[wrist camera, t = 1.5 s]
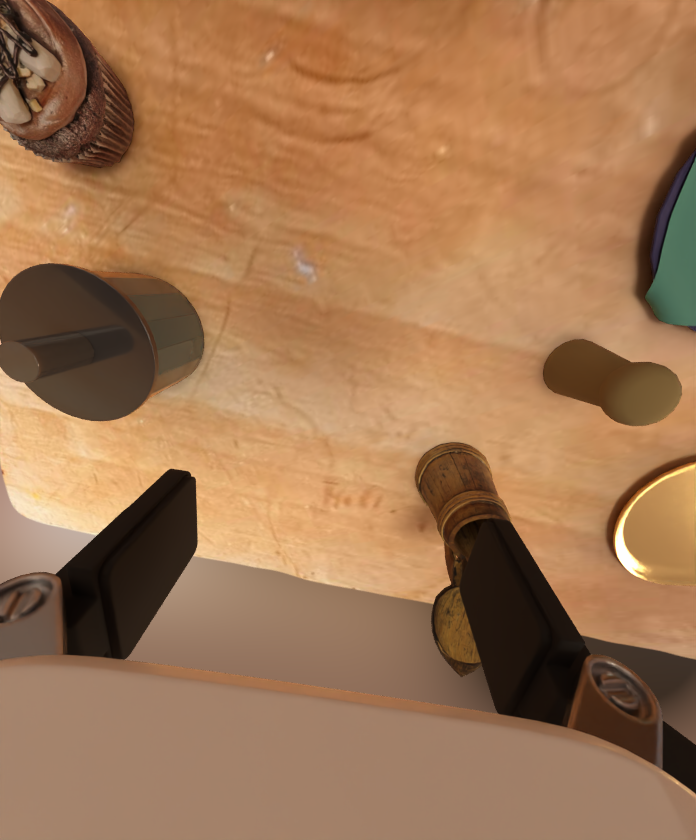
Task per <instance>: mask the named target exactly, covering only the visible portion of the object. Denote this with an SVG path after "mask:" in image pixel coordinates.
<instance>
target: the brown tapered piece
mask: <svg viewBox="0 0 696 840" xmlns="http://www.w3.org/2000/svg"><path fill="white" fill-rule="evenodd" d="M543 376H544V382H545V383H546V385H547V387H548V388H549V389H550V390H552V391H553V392H555V393H558V394H561V395H564V396H567V397H571V398H574V399H577V400H580V401H584V402H587V403H590V404H593V405H596V406H600V407H601V408H602V410H603V411H604V412H605V414H606V415H608V416H609V417H610V418H611V419H613V420H614V421H616V422H618V423H622V424H625V425H629V426H645V425H649V424H653V423H657V422H658V421H660V420H662V419H664V418H666V417H667V416H668V415H669V414H670V413H671V412H673V411H674V409H675V408H676V406H677V405H678V403H679V401H680V398H681V395H682V386H681V384H680V381H679V379H678V377H677V375H676V374H675V373H673V372H672V371H671V370H670V369H668V368H667V367H665V366H662V365H659V364H656V363H652V362H633V363H632V362H630V361H628V360H626V359H624V358H622V357H620V356H618V355H616V354H614V353H613V352H611V351H609V350H607V349H605V348H603V347H601V346H599V345H597V344H595V343H593V342H591V341H587V340H584V339H580V340H572V341H569V342H565V343H563V344H562V345H560V346H559V347H557V348H556V349H555V350H554V351H553V352H552V353H551V354H550V355H549V357H548V359H547V361H546V363H545V365H544V370H543Z"/></svg>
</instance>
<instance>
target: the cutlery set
mask: <svg viewBox="0 0 696 840" xmlns="http://www.w3.org/2000/svg"><path fill="white" fill-rule="evenodd" d="M650 263H651V270H652V277H653V284H652V285H651V287H650V289H649V290H648V292H647V294H646V296H645V299H646V301H647V302H648V303H649V304H650V306H651V308H652V310H653V312H654V315H655V316H656V317H657V318H658V319H659V320H660V321H662V322H665V323H667V324H673V325H684V326H687V327H689V328H690V329H692V330H693V331H696V149H695V150H694V152H693V153H692V154H691V156H690V157H689V158H688V159H687V161H686V162H685V163H684V165H683V166H682V167H681V169H680V170H679V171H678V172H677V174H676V176H675V178H674V180H673V182H672V184H671V186H670V189H669V191H668V193H667V195H666V197H665V199H664V201H663V204H662V206H661V208H660V210H659V212H658V214H657V217H656V222H655V228H654V233H653V239H652V245H651V250H650Z"/></svg>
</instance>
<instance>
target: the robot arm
mask: <svg viewBox="0 0 696 840" xmlns="http://www.w3.org/2000/svg"><path fill="white" fill-rule="evenodd" d="M196 548H197V507H196V479H195V477H191V474H190V472H188V471H182V470H175V469H169V470H168V471H167V472H166V473H164V474H163V475H162V476H161V477H160V478H159V479H158V480H157V481H156V482H155V483H154V484H153V485H152V486H151V487H150V488H148V489H147V490H146V491H145V492H144V493H143V494H142V495H141V496H140V497H139V498H138V499H137V500H136V501H135V502H134V503H132V504H131V505H130V506H129V507H128V508H127V509H125V510H124V511H123V512H122V513H121V514H120V515H119V516H117V517H116V518H115V519H114V520H113V521H112V522H111V523H110V524H109V525H108V526H107V527H106V528H105V529H104V530H102V531H101V532H100V533H99V534H98V535H97V536H96V537H95V538H94V539H93V540H92V541H91V542H90V543H89V544H88V545H87V546H85V547H84V548H83V549H82V550H81V551H80V552H79V553H78V554H77V555H76V556H75V557H74V558H72V559H71V560H70V561H69V562H68V563H67V564H66V565H65V566H64V567H63V568H62V569H61V570H60V571H59V572H57V573H56V574H51V573H47V572H38V573H30V574H25V575H21V576H18V577H15V578H13V579H10V580H7V581H6V582H4V583H2V584H0V840H696V745H695V744H693V743H692V742H691V741H690V740H688V739H687V738H686V737H684V736H683V735H682V734H680V733H679V732H678V731H676V730H675V729H674V728H672V727H671V726H669V725H668V724H667V723H665V722H664V721H663V716H662V711H661V707H660V705H659V703H658V701H657V699H656V697H655V695H654V694H653V692H652V691H651V690H650V688H649V687H648V686H647V685H646V684H645V682H644V681H643V680H642V679H641V678H639V677H638V676H637V675H636V674H635V673H634V672H633V671H631V670H630V669H629V668H627V667H626V666H625V665H623V664H621V663H620V662H618V661H616V660H614V659H613V658H610V657H607V656H604V655H597V654H593V655H591V654H590V653H589V651H588V649H587V648H586V646H585V642H584V640H583V639H582V637H581V635H580V634H579V632H578V630H577V629H576V627H575V626H574V624H573V622H572V621H571V619H570V617H569V616H568V614H567V613H566V611H565V609H564V608H563V606H562V604H561V603H560V601H559V600H558V598H557V596H556V595H555V593H554V591H553V590H552V588H551V587H550V585H549V583H548V582H547V580H546V578H545V577H544V575H543V574H542V572H541V570H540V569H539V567H538V565H537V564H536V562H535V561H534V559H533V557H532V556H531V554H530V552H529V551H528V549H527V548H526V546H525V544H524V543H523V541H522V539H521V538H520V536H519V535H518V533H517V531H516V530H515V528H514V526H513V525H512V523H511V522H510V521H508V520H503V519H496V518H489V519H488V521H487V522H486V521H484V522H483V523H482V524H481V527H480V530H479V532H478V535H477V538H476V540H475V543H474V546H473V549H472V551H471V554H470V557H469V559H468V562H467V565H466V567H465V570H464V573H463V575H462V578H461V581H460V595H461V598H462V602H463V605H464V608H465V611H466V615H467V618H468V621H469V624H470V628H471V631H472V634H473V637H474V641H475V644H476V647H477V650H478V654H479V657H480V660H481V663H482V667H483V670H484V673H485V676H486V680H487V683H488V686H489V689H490V693H491V696H492V699H493V702H494V706H495V708H496V710H497V712H498V713H499V714H495V713H489V712H483V711H477V710H471V709H464V708H458V707H451V706H444V705H438V704H431V703H425V702H418V701H411V700H405V699H399V698H392V697H385V696H378V695H372V694H365V693H359V692H352V691H345V690H338V689H331V688H325V687H318V686H311V685H304V684H297V683H290V682H283V681H276V680H269V679H262V678H255V677H248V676H241V675H234V674H226V673H219V672H213V671H205V670H198V669H191V668H184V667H177V666H170V665H162V664H153V663H146V662H137V661H129V660H124V659H126V658H127V657H128V656H129V655H130V654H131V652H132V650H133V649H134V647H135V646H136V644H137V643H138V641H139V640H140V638H141V636H142V635H143V633H144V632H145V630H146V629H147V627H148V625H149V624H150V622H151V620H152V619H153V618H154V616H155V615H156V613H157V611H158V609H159V608H160V607H161V605H162V604H163V602H164V600H165V599H166V597H167V596H168V594H169V592H170V591H171V589H172V588H173V586H174V585H175V583H176V582H177V580H178V578H179V577H180V575H181V574H182V572H183V570H184V569H185V567H186V566H187V564H188V563H189V561H190V559H191V558H192V556H193V555H194V553H195V551H196ZM121 659H123V660H121Z"/></svg>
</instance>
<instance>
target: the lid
mask: <svg viewBox="0 0 696 840" xmlns="http://www.w3.org/2000/svg"><path fill="white" fill-rule="evenodd" d="M0 340H1V343H2V344H1V345H0V367H1V368H2V370H3V371H4V372H5V373H6V374H7V375H8V376H9V377H11V378H12V379H14V380H16V381H19V382H24V383H25V384H26V385H27V386H28V387H29V388H30V389H31V390H32V391H33V392H34V393H35V394H36V395H37V396H38V397H40V398H41V399H42V400H44V401H45V402H46V403H48V404H49V405H51V406H52V407H54V408H56V409H58V410H60V411H62V412H64V413H66V414H68V415H71V416H74V417H77V418H81V419H85V420H91V421H110V420H115V419H119V418H122V417H125V416H127V415H129V414H131V413H132V412H134V411H136V410H137V409H139V408H140V407H141V406H142V405H143V404H144V403H145V402H146V401H147V400H148V398H149V397H150V395H151V394H152V392H153V390H154V387H155V385H156V381H157V377H158V369H159V361H158V352H157V346H156V343H155V340H154V336H153V334H152V332H151V329H150V327H149V325H148V323H147V321H146V320H145V318H144V316H143V315H142V313H141V312H140V310H139V309H138V308H137V306H136V305H135V304H134V303H133V302H132V300H131V299H130V298H129V297H128V296H127V295H126V294H125V293H124V292H123V291H122V290H120V289H119V288H118V287H117V286H115V285H114V284H113V283H111V282H110V281H109V280H107V279H105V278H104V277H102V276H100V275H99V274H96V273H94V272H92V271H90V270H87V269H84V268H81V267H78V266H74V265H68V264H55V263H48V264H39V265H36V266H33V267H30V268H27V269H25V270H23V271H21V272H20V273H19V274H17V275H16V276H15V277H14V278H13V279H12V280H11V281H10V282H9V283H8V284H7V286H6V288H5V289H4V291H3V293H2V296H1V298H0Z"/></svg>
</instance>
